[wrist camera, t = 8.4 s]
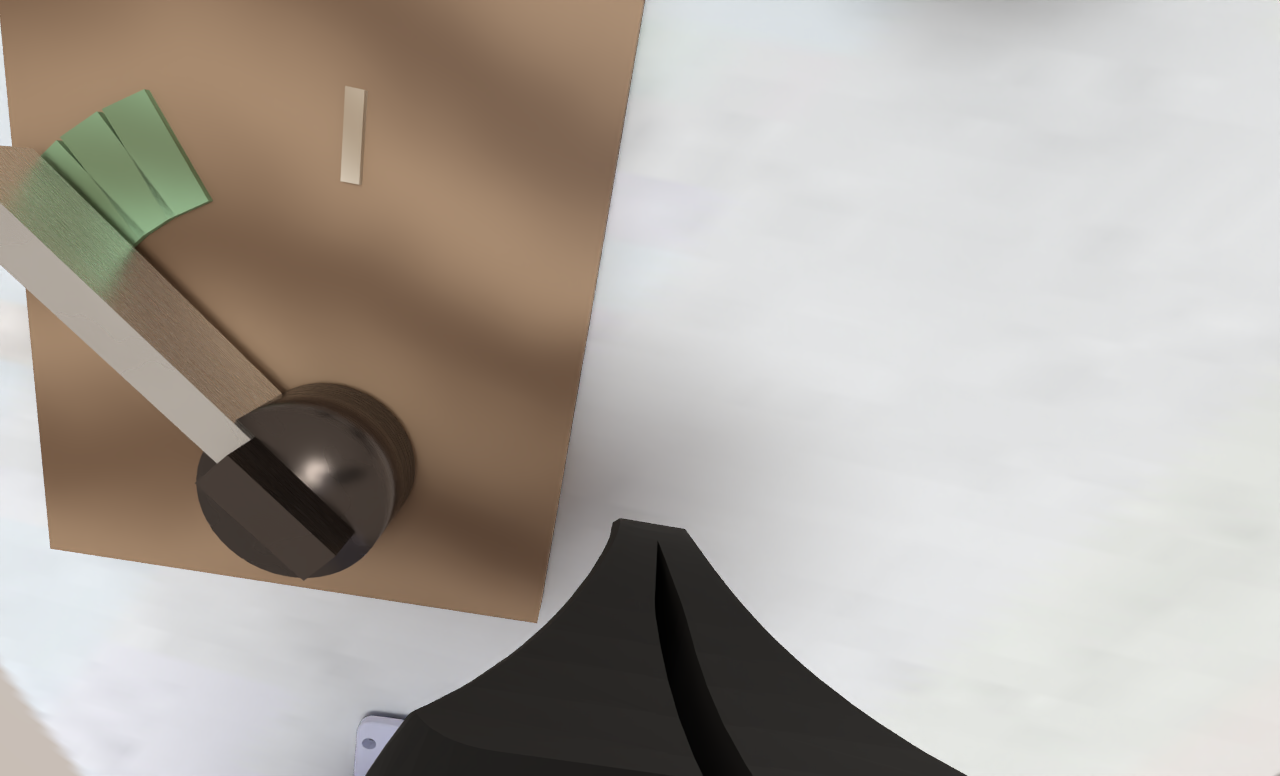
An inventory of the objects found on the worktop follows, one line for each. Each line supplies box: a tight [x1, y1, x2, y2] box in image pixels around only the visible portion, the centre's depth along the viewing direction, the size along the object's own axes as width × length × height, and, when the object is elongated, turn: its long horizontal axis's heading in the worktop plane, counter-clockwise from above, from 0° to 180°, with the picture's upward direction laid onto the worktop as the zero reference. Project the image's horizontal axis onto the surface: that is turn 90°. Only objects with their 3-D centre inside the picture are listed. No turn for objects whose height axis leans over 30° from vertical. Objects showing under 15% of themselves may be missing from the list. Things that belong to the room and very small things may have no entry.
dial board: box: [0, 0, 645, 623], centre depth 19 cm, size 20×16×1 cm
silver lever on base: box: [0, 146, 415, 581], centre depth 17 cm, size 14×5×4 cm, turn 38°
